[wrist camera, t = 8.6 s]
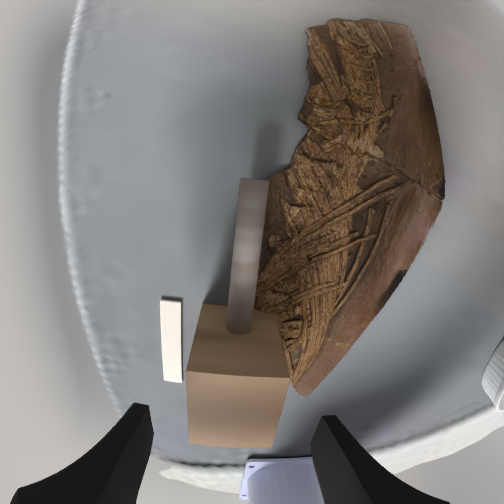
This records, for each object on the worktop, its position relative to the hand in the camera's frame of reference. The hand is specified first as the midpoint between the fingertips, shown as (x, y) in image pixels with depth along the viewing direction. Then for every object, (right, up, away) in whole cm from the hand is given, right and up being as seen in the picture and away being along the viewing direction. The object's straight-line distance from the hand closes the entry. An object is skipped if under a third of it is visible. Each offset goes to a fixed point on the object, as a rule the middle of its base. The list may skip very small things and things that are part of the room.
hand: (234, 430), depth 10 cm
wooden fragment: (+6, +10, +5) cm, 13 cm away
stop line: (-4, +2, +6) cm, 8 cm away
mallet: (0, +5, +6) cm, 8 cm away
